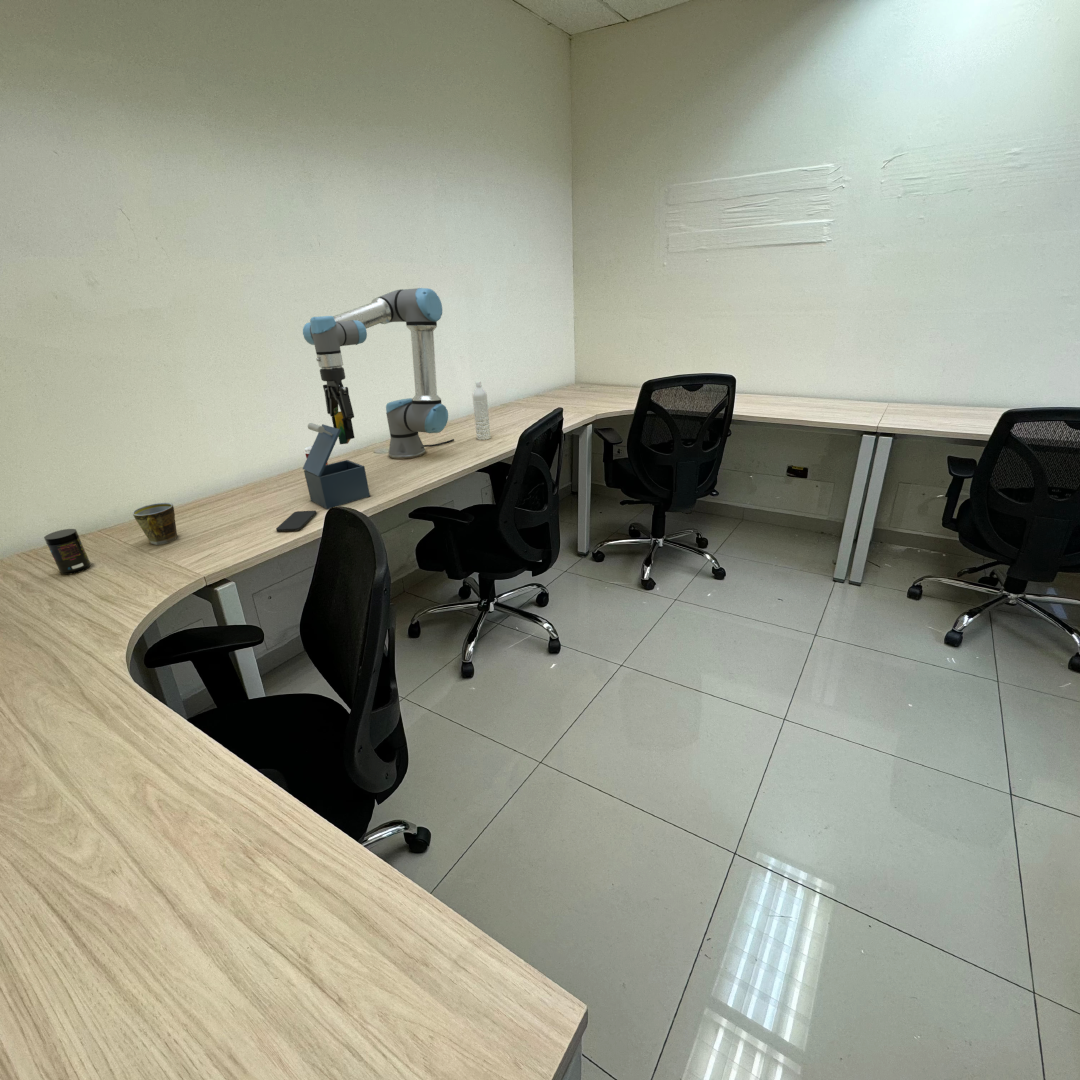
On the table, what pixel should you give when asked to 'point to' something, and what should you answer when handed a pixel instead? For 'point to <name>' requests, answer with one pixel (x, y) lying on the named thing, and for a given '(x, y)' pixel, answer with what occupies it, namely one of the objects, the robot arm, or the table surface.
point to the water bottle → (481, 413)
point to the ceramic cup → (157, 522)
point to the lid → (321, 448)
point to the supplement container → (67, 551)
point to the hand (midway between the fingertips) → (344, 436)
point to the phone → (296, 521)
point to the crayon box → (340, 427)
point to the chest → (338, 484)
